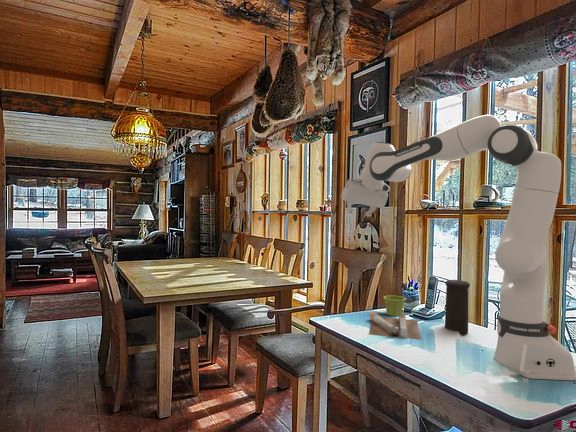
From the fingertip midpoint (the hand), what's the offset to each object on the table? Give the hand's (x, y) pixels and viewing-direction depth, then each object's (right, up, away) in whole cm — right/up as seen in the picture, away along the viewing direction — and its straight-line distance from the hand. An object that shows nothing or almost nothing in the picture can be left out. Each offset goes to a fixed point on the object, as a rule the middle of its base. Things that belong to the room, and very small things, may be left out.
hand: (358, 214), depth 155 cm
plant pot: (+18, -45, +12) cm, 50 cm away
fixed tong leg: (+15, -43, -9) cm, 47 cm away
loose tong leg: (+8, -43, -8) cm, 45 cm away
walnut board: (+13, -45, -7) cm, 47 cm away
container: (+36, -45, -8) cm, 59 cm away
